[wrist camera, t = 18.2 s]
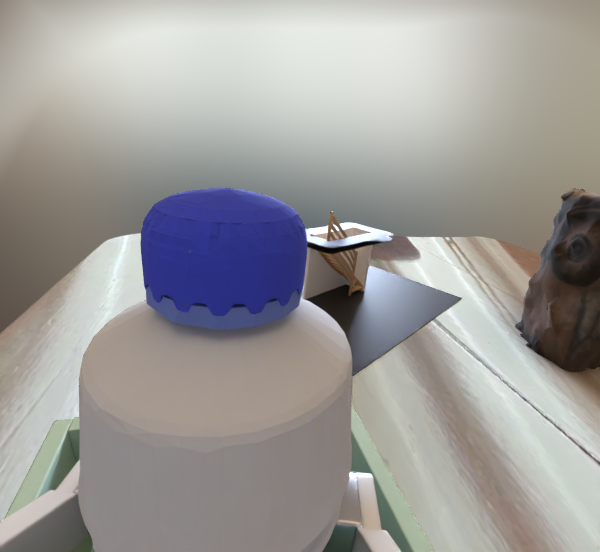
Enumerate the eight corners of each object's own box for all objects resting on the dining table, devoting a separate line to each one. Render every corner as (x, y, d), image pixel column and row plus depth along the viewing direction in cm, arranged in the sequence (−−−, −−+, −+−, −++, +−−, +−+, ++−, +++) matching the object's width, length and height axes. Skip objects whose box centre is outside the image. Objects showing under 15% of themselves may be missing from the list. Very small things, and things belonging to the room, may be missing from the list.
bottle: (156, 588, 16) (100, 164, 9) (289, 562, 17) (337, 181, 10) (113, 862, 10) (-198, 218, 3) (322, 786, 11) (501, 241, 4)
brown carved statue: (568, 378, 37) (655, 201, 29) (478, 322, 48) (524, 182, 40) (632, 361, 41) (721, 204, 34) (536, 314, 52) (587, 187, 45)
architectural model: (333, 389, 32) (355, 252, 26) (192, 290, 50) (188, 196, 44) (461, 298, 56) (486, 216, 50) (335, 253, 73) (343, 189, 68)
